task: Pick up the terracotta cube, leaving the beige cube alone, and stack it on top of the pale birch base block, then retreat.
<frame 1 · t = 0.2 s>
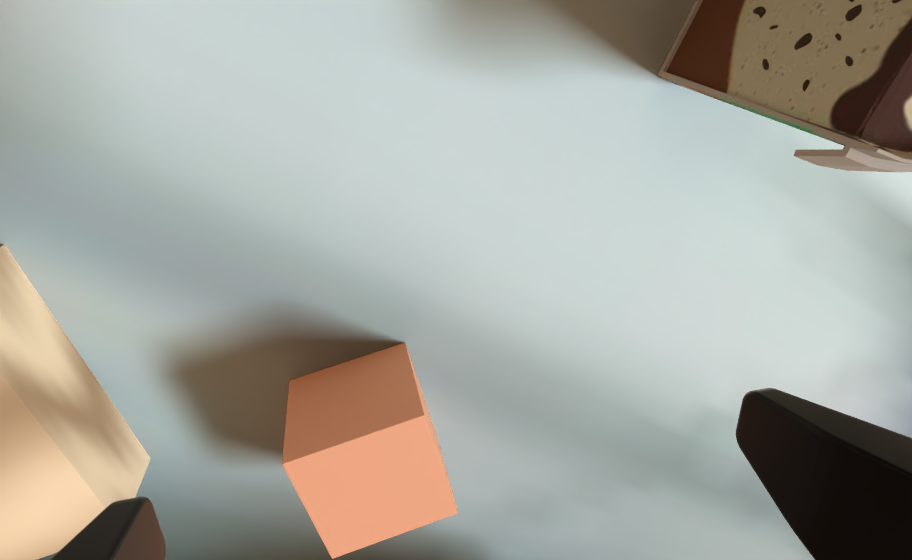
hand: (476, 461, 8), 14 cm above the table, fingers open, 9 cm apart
terracotta cube: (366, 405, 24), on the table
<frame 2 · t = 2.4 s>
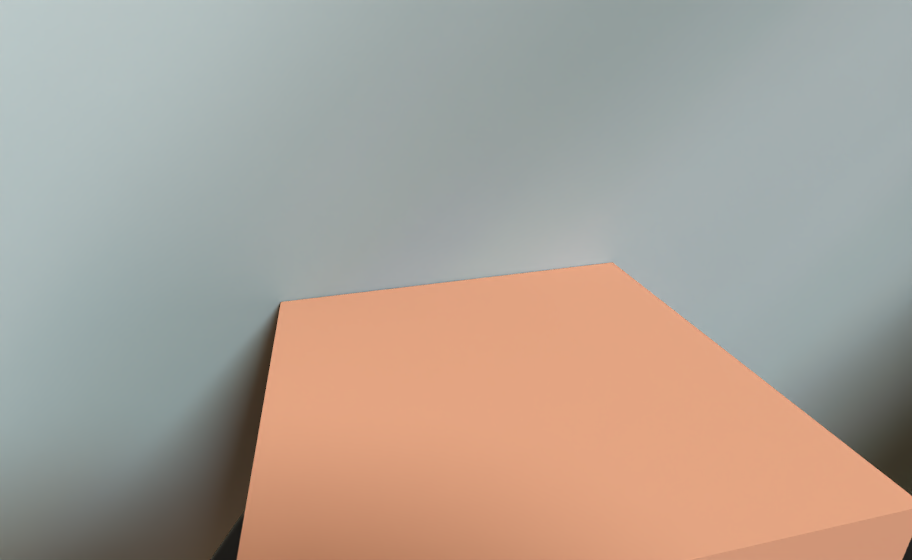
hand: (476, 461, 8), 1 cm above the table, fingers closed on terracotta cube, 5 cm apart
terracotta cube: (460, 418, 9), on the table, touching gripper
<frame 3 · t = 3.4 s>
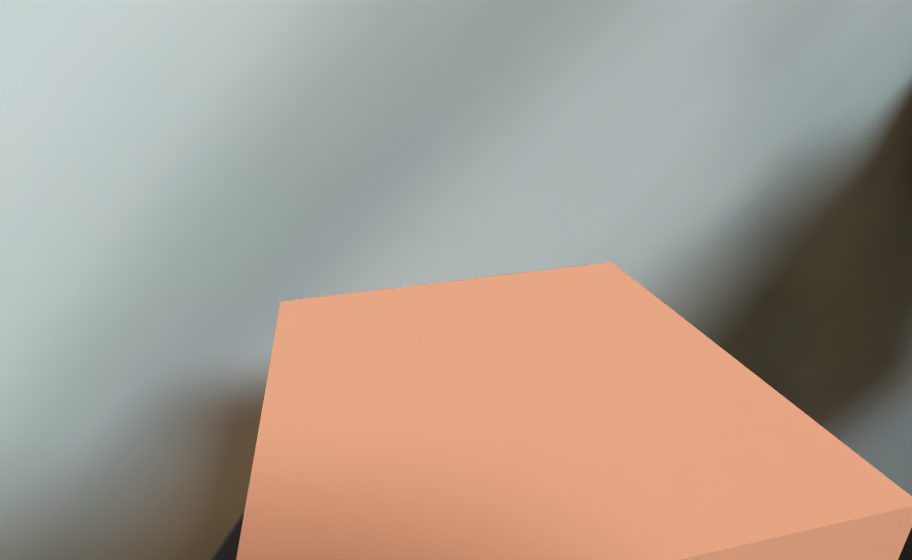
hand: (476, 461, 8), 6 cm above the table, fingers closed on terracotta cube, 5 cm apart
terracotta cube: (460, 417, 9), point 5 cm above the table, touching gripper
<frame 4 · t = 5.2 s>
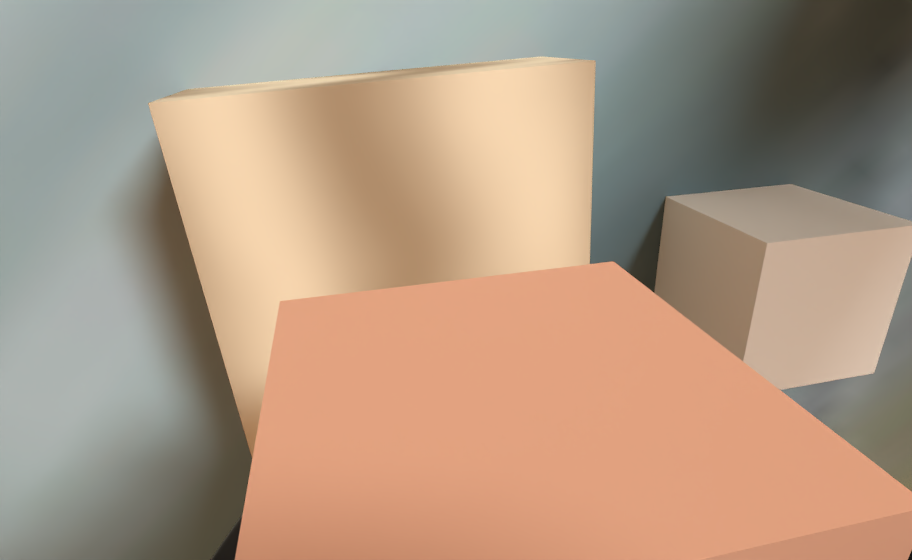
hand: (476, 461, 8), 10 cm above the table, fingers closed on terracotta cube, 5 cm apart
terracotta cube: (461, 418, 9), point 9 cm above the table, touching gripper
beige cube: (717, 254, 21), on the table
birch base block: (393, 234, 18), on the table
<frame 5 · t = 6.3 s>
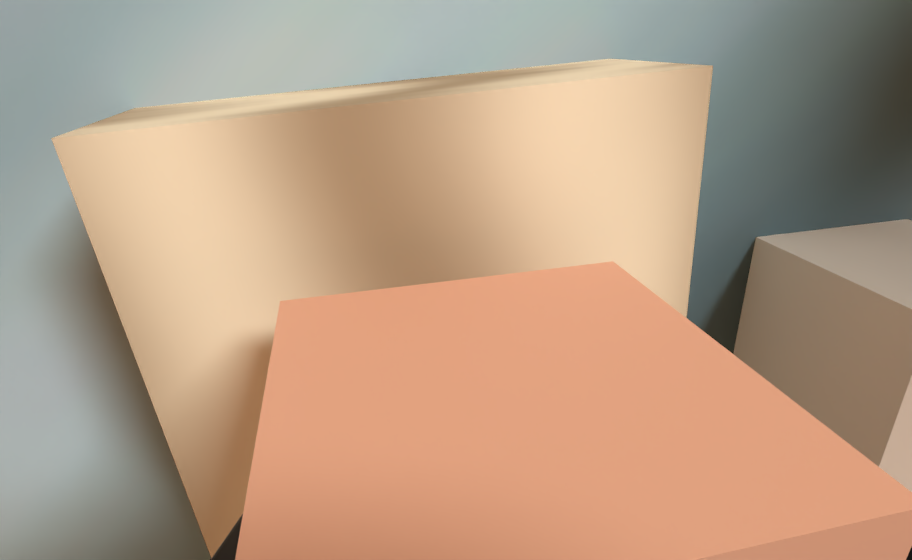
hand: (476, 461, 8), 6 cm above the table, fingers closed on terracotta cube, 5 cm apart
terracotta cube: (460, 417, 9), point 5 cm above the table, touching gripper
beige cube: (811, 305, 17), on the table
birch base block: (413, 289, 14), on the table
when the fingers open (6 cm above the table, at t = 6.3 s): terracotta cube drops 1 cm, resting on birch base block.
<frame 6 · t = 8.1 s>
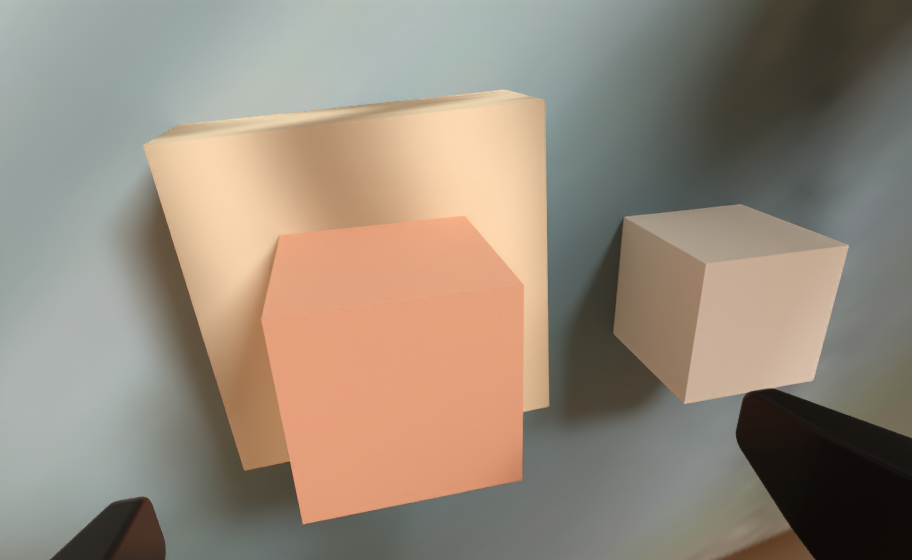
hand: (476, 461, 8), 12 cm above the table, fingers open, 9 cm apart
terracotta cube: (383, 307, 16), point 4 cm above the table, touching birch base block
beige cube: (674, 269, 22), on the table
birch base block: (371, 252, 19), on the table, touching terracotta cube
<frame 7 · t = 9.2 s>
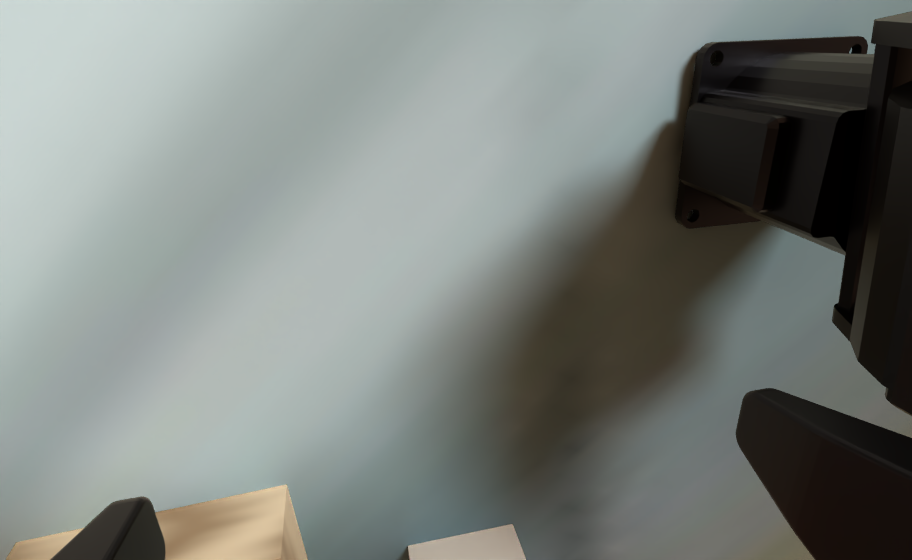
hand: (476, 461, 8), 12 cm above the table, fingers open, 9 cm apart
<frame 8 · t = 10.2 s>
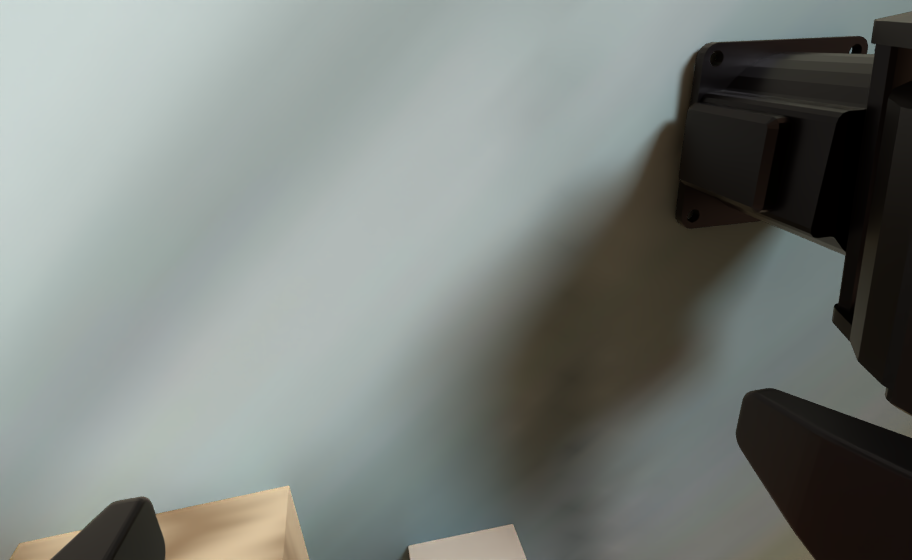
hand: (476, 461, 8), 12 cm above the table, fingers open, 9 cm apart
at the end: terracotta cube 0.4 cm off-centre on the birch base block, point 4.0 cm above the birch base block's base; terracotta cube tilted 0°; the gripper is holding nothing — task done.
